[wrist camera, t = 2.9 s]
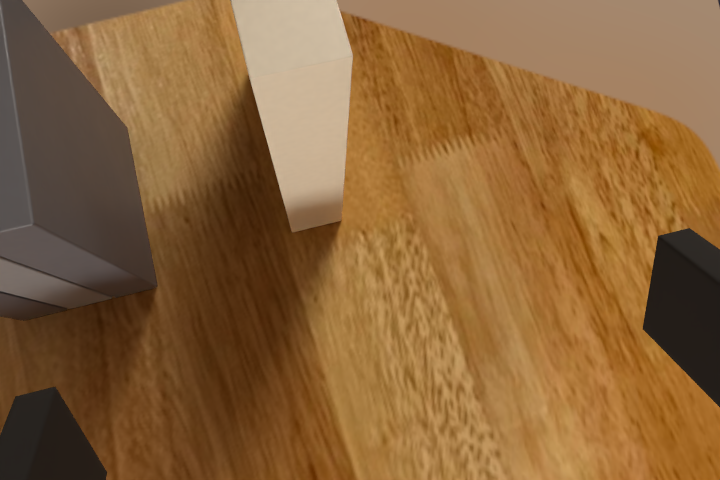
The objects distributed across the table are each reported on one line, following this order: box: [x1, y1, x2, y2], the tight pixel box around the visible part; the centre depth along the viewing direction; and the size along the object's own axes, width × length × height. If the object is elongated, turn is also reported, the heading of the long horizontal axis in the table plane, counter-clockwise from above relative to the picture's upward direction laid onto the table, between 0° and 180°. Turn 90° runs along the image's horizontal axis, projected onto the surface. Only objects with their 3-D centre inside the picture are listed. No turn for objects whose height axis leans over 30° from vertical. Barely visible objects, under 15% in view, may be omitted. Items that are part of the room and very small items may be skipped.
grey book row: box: [0, 0, 157, 321], centre depth 25 cm, size 7×10×16 cm
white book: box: [230, 0, 353, 232], centre depth 26 cm, size 3×11×18 cm, turn 15°
